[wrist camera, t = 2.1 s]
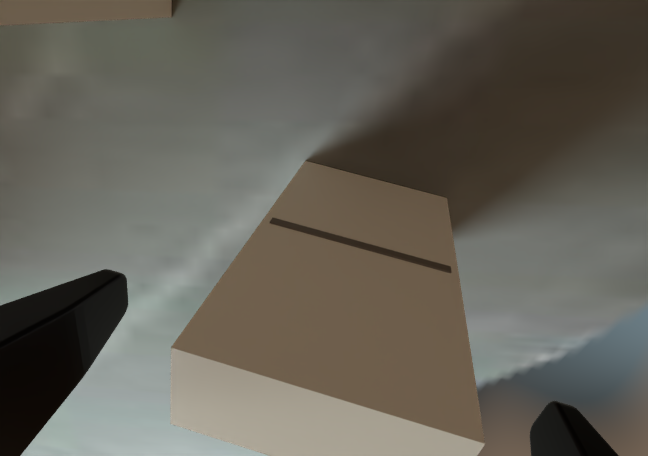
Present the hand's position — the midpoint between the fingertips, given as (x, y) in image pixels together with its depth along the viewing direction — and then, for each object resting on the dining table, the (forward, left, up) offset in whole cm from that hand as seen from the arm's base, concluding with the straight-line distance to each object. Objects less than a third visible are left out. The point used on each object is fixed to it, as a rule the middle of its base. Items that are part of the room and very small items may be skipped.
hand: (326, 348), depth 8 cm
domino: (0, 0, -7) cm, 7 cm away
